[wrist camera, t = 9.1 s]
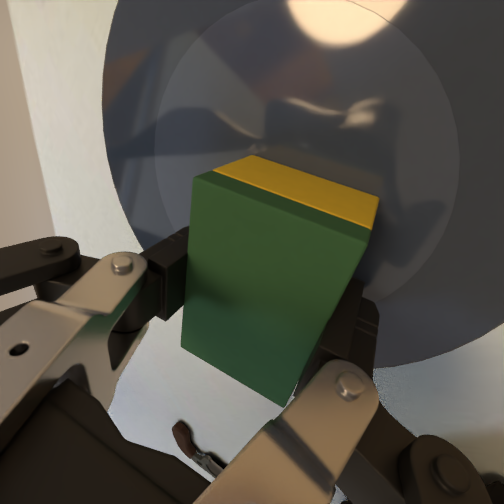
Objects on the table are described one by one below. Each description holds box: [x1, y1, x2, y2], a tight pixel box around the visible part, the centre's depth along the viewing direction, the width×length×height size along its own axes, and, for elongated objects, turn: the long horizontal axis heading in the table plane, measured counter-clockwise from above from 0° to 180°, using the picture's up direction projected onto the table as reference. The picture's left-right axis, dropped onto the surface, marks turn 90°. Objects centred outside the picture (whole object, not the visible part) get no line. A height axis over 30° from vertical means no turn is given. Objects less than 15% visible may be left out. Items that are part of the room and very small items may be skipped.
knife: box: [172, 422, 223, 478], centre depth 25 cm, size 14×4×1 cm, turn 63°
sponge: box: [181, 155, 379, 408], centre depth 10 cm, size 4×7×4 cm, turn 168°
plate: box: [102, 0, 504, 369], centre depth 11 cm, size 17×17×1 cm
